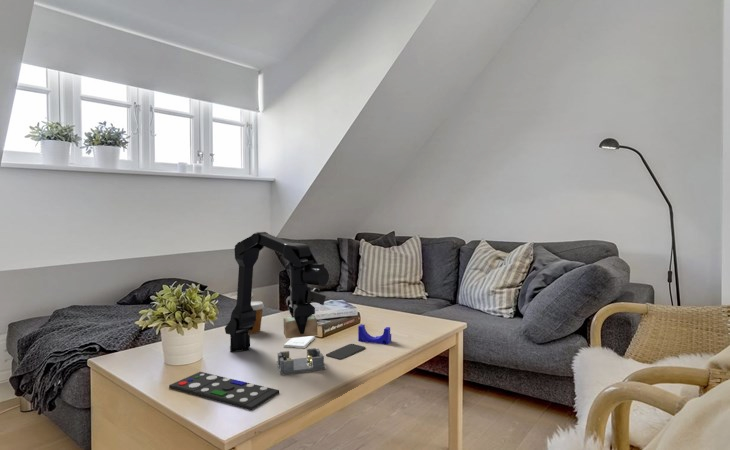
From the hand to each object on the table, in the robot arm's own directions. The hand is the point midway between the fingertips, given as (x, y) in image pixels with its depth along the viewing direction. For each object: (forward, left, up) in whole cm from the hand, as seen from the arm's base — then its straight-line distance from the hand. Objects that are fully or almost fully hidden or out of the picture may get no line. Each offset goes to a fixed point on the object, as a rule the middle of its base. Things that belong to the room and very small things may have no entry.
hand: (300, 331), depth 136 cm
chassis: (0, 0, -12) cm, 12 cm away
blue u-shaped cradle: (+32, +17, -12) cm, 38 cm away
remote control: (-24, -11, -12) cm, 29 cm away
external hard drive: (+4, +25, -12) cm, 28 cm away
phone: (+18, +9, -12) cm, 23 cm away
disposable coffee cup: (-12, +46, -12) cm, 49 cm away
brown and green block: (0, 0, -1) cm, 1 cm away
